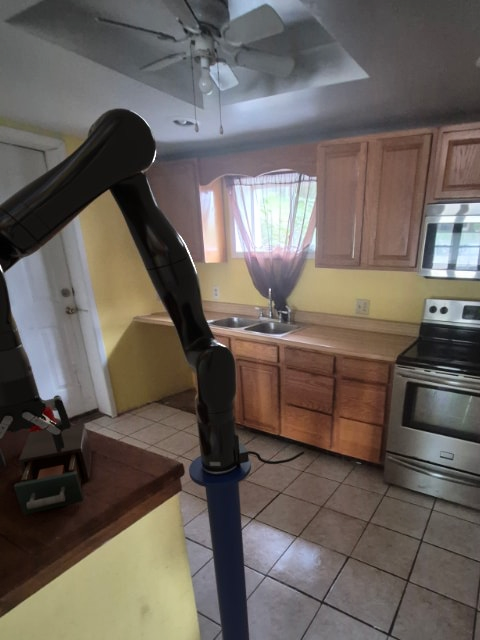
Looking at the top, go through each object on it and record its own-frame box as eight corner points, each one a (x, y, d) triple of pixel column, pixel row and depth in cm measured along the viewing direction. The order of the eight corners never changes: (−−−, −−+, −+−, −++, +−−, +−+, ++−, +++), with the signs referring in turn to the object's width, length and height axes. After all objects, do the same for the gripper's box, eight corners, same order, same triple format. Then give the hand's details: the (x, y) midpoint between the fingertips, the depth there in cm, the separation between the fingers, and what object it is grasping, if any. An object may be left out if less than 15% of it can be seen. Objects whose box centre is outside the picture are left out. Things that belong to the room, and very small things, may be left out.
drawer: (81, 513, 74) (73, 485, 72) (19, 529, 70) (8, 500, 67) (86, 470, 88) (79, 445, 86) (34, 481, 84) (26, 455, 81)
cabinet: (89, 480, 86) (80, 448, 83) (30, 493, 82) (18, 459, 78) (91, 452, 97) (84, 423, 94) (39, 462, 93) (30, 432, 89)
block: (68, 481, 82) (63, 464, 81) (66, 492, 79) (61, 475, 77) (45, 486, 80) (39, 469, 79) (42, 498, 77) (36, 480, 75)
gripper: (53, 360, 68) (73, 438, 74) (-50, 375, 60) (-17, 460, 66) (56, 371, 62) (78, 454, 69) (-56, 389, 54) (-20, 481, 61)
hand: (31, 457), depth 67 cm, fingers open, 8 cm apart
